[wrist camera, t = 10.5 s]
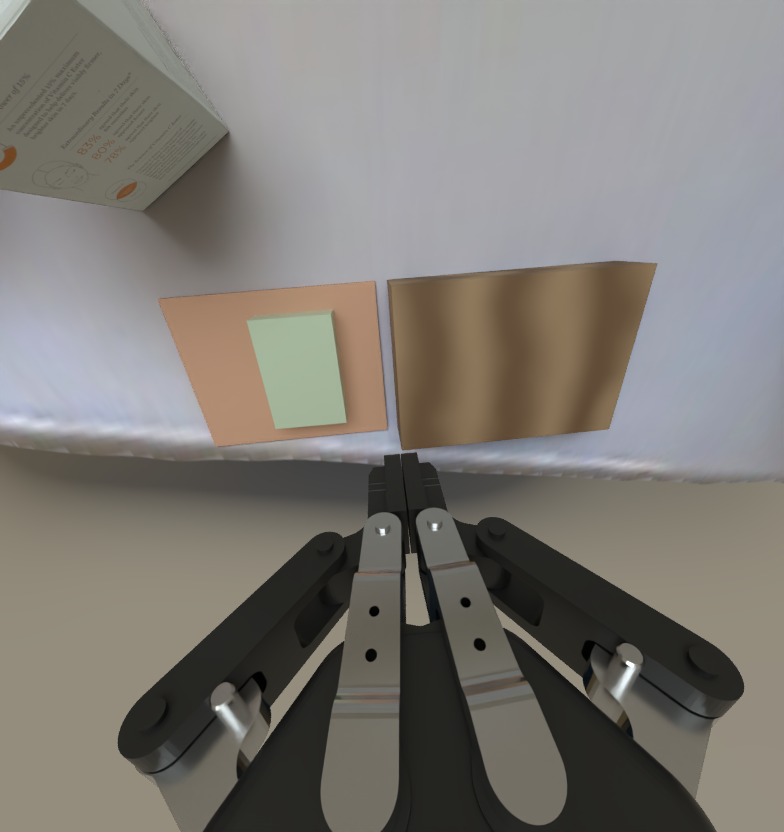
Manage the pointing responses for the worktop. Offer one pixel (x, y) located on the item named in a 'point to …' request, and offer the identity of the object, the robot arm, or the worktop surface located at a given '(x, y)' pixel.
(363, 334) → the mat
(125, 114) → the small box
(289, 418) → the pale green foam block
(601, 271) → the board
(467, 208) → the worktop surface
